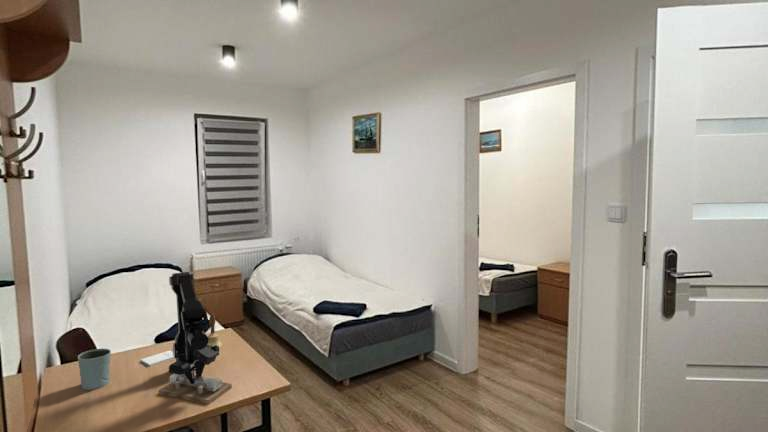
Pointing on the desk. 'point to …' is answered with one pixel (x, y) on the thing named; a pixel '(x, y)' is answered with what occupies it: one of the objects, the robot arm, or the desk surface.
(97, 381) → the grey-blue cup
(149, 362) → the external hard drive
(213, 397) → the peg board
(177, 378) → the grey i-beam piece
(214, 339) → the hand bell
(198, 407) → the desk surface
